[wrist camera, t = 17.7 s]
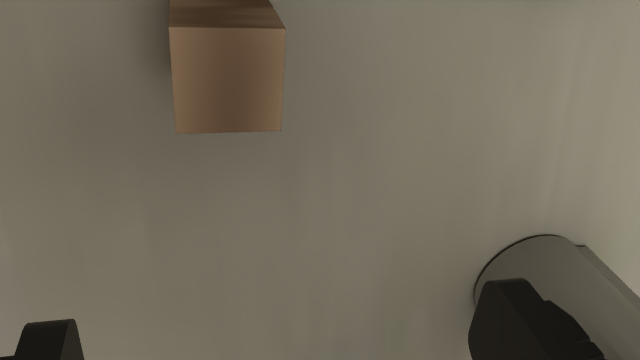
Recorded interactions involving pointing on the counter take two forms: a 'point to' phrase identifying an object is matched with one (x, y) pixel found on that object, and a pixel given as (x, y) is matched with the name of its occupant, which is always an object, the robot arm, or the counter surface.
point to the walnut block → (226, 65)
